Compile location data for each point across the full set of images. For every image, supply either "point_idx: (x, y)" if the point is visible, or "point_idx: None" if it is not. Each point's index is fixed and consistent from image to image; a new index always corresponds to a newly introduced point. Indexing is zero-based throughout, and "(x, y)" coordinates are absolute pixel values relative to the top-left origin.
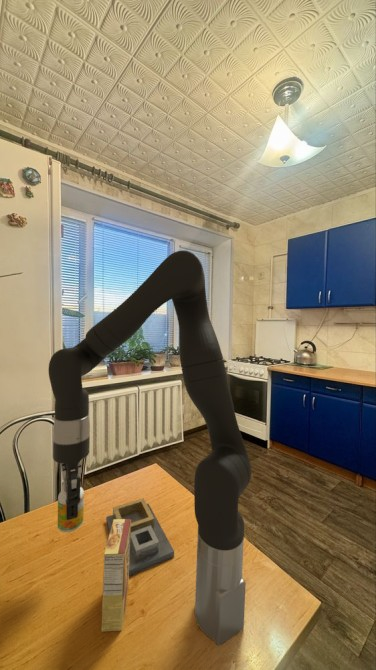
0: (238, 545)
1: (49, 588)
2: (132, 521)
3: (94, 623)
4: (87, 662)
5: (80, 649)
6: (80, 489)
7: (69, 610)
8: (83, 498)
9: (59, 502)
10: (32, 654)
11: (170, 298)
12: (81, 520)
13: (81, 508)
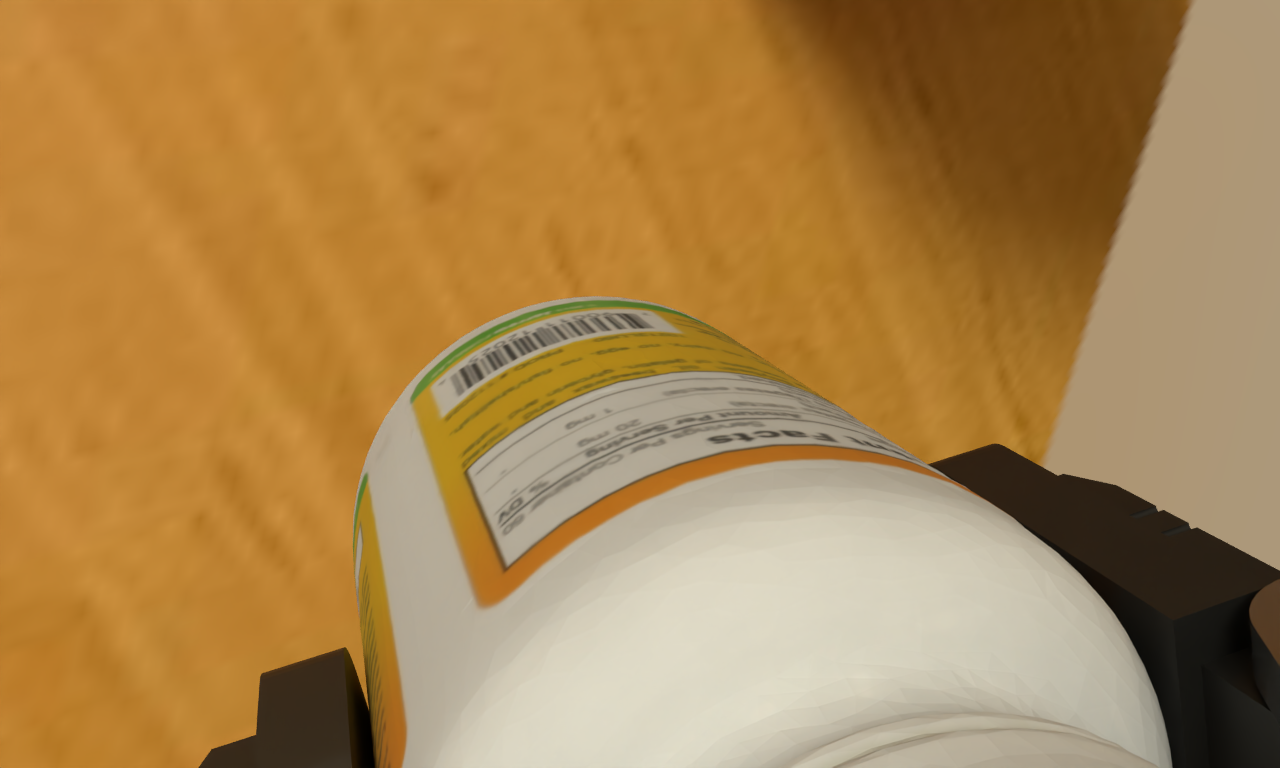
0: None
1: None
2: None
3: (948, 21)
4: (1164, 56)
5: (1079, 116)
6: (847, 655)
7: (789, 251)
8: (800, 430)
9: None
10: (1002, 445)
11: None
12: (717, 331)
13: (823, 401)
